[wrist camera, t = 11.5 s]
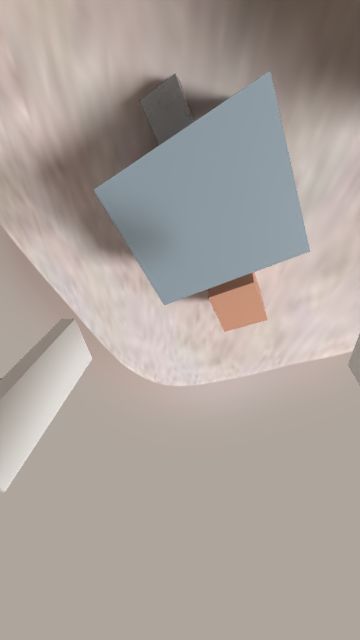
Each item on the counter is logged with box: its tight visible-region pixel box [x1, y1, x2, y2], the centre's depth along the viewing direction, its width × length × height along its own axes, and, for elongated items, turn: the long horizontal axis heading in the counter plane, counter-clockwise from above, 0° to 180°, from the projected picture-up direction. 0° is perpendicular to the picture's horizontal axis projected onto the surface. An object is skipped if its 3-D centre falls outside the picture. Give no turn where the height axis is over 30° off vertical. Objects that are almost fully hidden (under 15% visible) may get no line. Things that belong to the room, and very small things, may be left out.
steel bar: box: [140, 74, 194, 145], centre depth 25 cm, size 18×4×3 cm, turn 27°
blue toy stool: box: [94, 71, 310, 305], centre depth 22 cm, size 11×13×10 cm
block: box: [208, 272, 267, 332], centre depth 29 cm, size 5×5×7 cm
